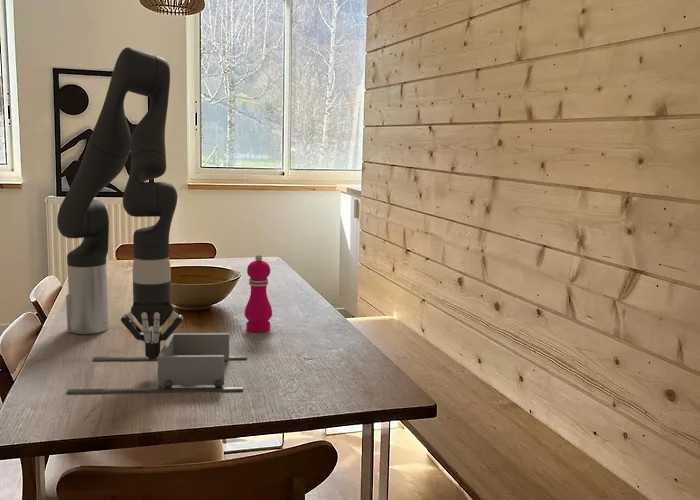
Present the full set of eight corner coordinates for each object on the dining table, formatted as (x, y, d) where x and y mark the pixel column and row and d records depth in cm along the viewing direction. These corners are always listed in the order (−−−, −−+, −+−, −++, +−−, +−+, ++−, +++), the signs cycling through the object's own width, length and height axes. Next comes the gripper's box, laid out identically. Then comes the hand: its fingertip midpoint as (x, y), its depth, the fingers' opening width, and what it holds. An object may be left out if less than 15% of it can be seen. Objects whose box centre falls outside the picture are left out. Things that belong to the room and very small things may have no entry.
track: (67, 393, 131) (66, 391, 131) (94, 359, 151) (94, 357, 151) (243, 391, 135) (243, 388, 135) (247, 358, 155) (247, 356, 155)
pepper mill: (267, 334, 173) (267, 258, 170) (240, 331, 175) (240, 256, 171) (275, 326, 180) (276, 253, 177) (250, 324, 182) (250, 251, 178)
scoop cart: (157, 389, 134) (156, 358, 133) (171, 359, 152) (170, 332, 151) (223, 388, 136) (223, 358, 135) (229, 359, 153) (229, 331, 152)
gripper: (114, 282, 135) (116, 364, 138) (181, 283, 136) (182, 364, 139) (122, 274, 142) (124, 352, 145) (186, 275, 143) (187, 352, 146)
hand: (153, 358), depth 142 cm, fingers closed
